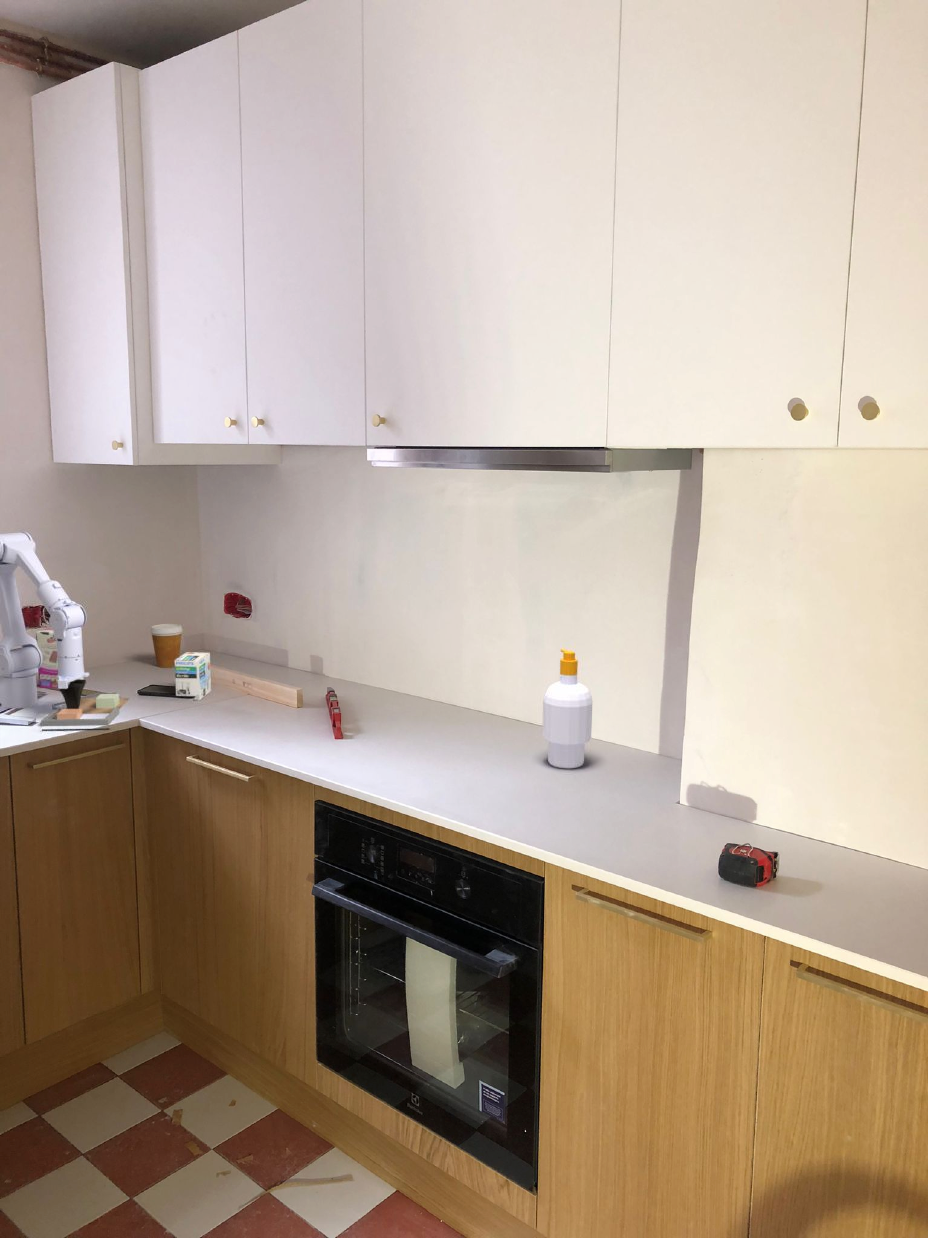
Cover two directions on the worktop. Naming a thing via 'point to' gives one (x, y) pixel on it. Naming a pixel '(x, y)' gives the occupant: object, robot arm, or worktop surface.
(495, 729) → the worktop surface
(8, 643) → the robot arm
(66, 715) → the terracotta tile
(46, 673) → the candy bar box
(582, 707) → the soap bottle
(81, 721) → the tray
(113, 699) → the sage-green tile
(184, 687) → the light bulb box
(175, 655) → the disposable coffee cup
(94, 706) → the walnut board
